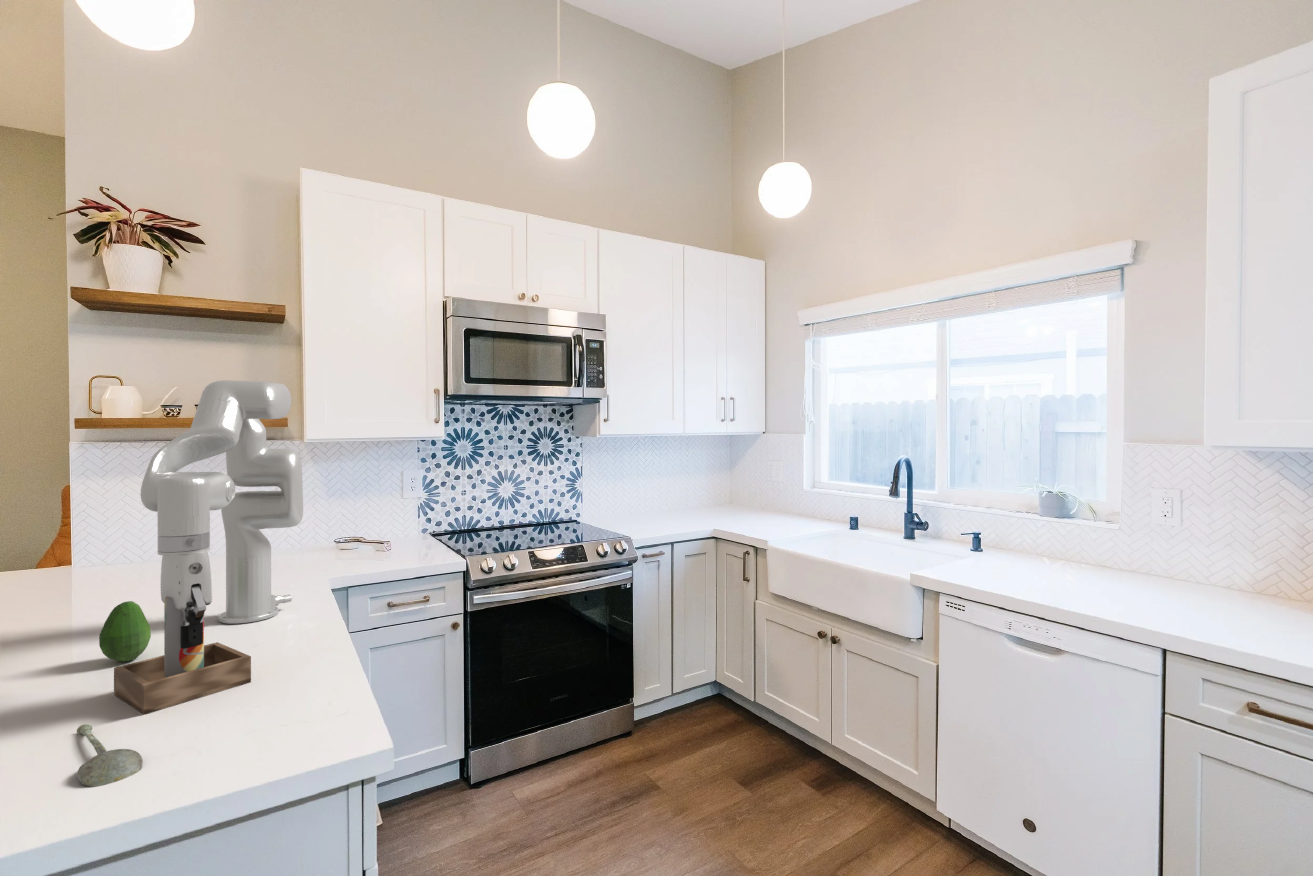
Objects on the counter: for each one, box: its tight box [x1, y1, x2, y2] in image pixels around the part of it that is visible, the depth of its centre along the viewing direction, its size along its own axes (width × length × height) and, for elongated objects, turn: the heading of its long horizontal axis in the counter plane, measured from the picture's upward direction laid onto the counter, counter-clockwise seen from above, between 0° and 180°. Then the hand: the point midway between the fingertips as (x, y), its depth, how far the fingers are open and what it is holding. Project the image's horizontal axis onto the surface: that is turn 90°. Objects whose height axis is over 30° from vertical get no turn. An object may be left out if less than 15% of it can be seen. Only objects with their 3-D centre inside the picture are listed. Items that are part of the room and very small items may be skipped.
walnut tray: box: [113, 641, 252, 715], centre depth 112 cm, size 16×14×5 cm
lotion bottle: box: [163, 568, 205, 678], centre depth 112 cm, size 6×6×20 cm
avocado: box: [98, 600, 152, 662], centre depth 125 cm, size 8×8×12 cm
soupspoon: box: [76, 723, 144, 788], centre depth 89 cm, size 22×3×7 cm
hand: (184, 642), depth 112 cm, fingers closed on lotion bottle, 5 cm apart
